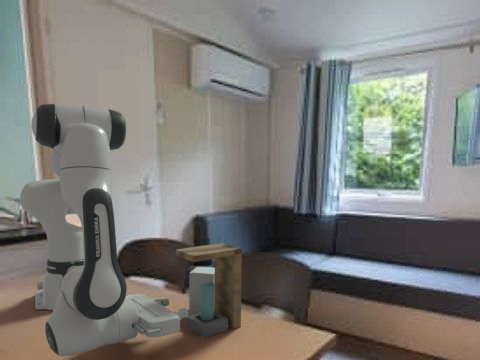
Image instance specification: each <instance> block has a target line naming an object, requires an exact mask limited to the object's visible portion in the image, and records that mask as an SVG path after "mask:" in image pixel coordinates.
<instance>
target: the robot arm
mask: <svg viewBox="0 0 480 360" xmlns="http://www.w3.org/2000/svg"><path fill="white" fill-rule="evenodd" d="M127 127H128V126H127V122H126V118H125V117H124V116H123V114H122V113H121V112H119V111H116V110H113V109H110V108H109V109H108V110H107V109H104V108H100V107H94V106H89V105H74V104H73V105H71V104H69V105H68V104H63V105H62V104H57V105H56V104H55V103H45V104H40V105H39V106H38V107H36V109H35V112H34V113H33V116H32V118H31V131H32V134H33V136H34V139H35V141H36V142H37V143H38V144H39V145H41V146H45V147H46V148H47V147H48V148H50V149H51V150H52V151H51V160H50V167H51V170H52V171H53V173H54V174H55V175H56V176H57V177H58V178H59V179H40V180H33V181H30V182H27V183H26V184H25V185H24V186H23V187H22V189H21V192H20V195H19V201H20V205H21V207H22V209H23V210H24V211H25V212H26V213H27V214H28V215H31V216H32V217H33V218H34V219H36V220H37V221H38V222H39V223H40V224H41V227H42V228H43V229H44V231H45V235H46V239H47V246H48V247H47V249H48V259H47V261H46V273H45V274H44V276H43V278H42V281H39V282H36V287H37V288H36V289H37V290H38V291H37V292H35V294H34V295H35V296H34V298H35V299H34V309H35V310H49V311H52V313H51V315H50V316H49V318H48V319H47V320H46V322H45V326H44V330H45V338H46V341H47V343H48V345H49V347H50V349H51V351H52V352H53V353H54V354H56V355H58V356H60V357H68V356H74V355H80V354H83V353H87V352H90V351H91V352H92V351H94V350H97V349H99V348H100V347H102V346H106V345H115V344H118V343H122V342H125V341H128V340H131V339H135V338H136V337H137V336H138V335H139V334H141V335H144V336H146V337H148V338H159V337H163V336H168V335H172V334H175V333H178V332H179V331H180V329H181V328H180V326H181V320H182V319H185V318H187V316H189V309H187V308H184V307H183V308H179V309H178V311H177V312H176V311H172V310H171V309H168V308H167V307H168V306H169V305H170V299H169V298H168V297H161V298H160V297H159V298H157V297H156V298H155V297H154V298H153V297H152V298H150V297H149V296H148V295H145V294H143V293H135V294H128V295H127V290H128V288H127V287H128V286H127V283H126V279H125V277H124V274H123V272H122V270H121V268H120V264H119V260H118V250H117V239H116V236H117V235H116V225H115V224H116V223H115V213H114V207H113V204H114V203H113V192H112V190H113V188H112V187H113V186H112V183H113V179H112V177H113V176H112V175H113V172H112V171H113V169H112V155H111V151H114V150H119V149H120V148H121V147H122V146H123V145H124V144H125V140H126V138H127V134H128V128H127ZM68 215H77V216H78V219H79V221H80V224H81V227H80V226H78V225H75V224H73V223H71V222H68V221H67V218H66V216H68Z"/></svg>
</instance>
